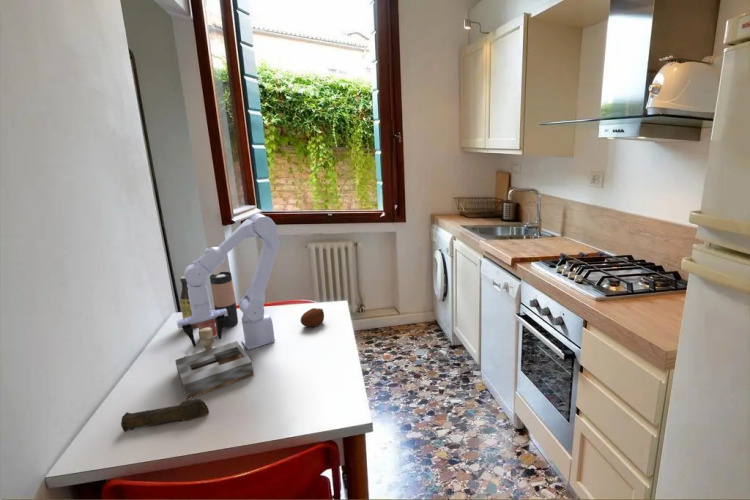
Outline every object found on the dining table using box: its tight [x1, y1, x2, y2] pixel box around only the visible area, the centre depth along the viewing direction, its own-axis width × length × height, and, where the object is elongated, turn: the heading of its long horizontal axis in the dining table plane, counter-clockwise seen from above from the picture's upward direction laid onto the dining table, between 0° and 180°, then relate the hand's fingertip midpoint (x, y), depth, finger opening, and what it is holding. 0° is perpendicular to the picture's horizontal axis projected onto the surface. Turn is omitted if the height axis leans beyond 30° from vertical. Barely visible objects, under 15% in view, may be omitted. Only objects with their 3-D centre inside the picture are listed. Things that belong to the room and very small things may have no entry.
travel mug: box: [209, 271, 239, 329], centre depth 143 cm, size 8×8×20 cm
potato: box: [300, 307, 325, 328], centre depth 140 cm, size 7×9×6 cm
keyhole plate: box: [175, 340, 255, 400], centre depth 111 cm, size 18×16×4 cm
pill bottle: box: [197, 305, 218, 338], centre depth 135 cm, size 6×6×11 cm
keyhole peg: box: [197, 327, 215, 352], centre depth 122 cm, size 5×5×9 cm
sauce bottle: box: [179, 275, 198, 329], centre depth 144 cm, size 6×6×20 cm
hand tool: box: [120, 398, 210, 433], centre depth 92 cm, size 19×4×5 cm, turn 100°
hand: (207, 341), depth 122 cm, fingers open, 7 cm apart
